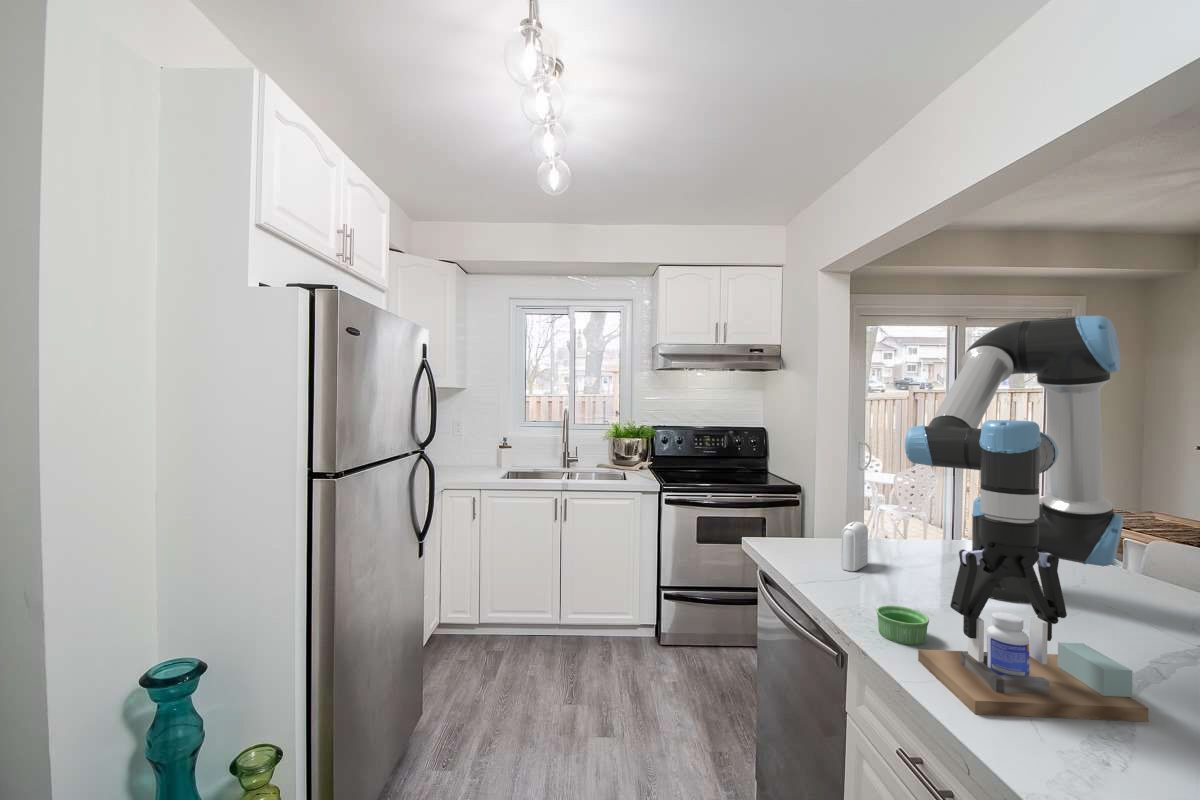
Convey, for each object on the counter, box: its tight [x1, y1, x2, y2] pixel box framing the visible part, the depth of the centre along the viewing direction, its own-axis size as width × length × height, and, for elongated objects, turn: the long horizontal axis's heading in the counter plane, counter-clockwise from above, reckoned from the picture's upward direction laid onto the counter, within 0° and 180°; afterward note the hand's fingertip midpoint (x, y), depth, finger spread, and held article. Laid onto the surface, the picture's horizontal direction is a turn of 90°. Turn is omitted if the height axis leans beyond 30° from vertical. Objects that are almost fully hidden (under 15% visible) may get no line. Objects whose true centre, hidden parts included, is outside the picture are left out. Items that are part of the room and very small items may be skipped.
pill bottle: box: [986, 611, 1030, 676], centre depth 86 cm, size 5×5×10 cm
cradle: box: [917, 649, 1150, 723], centre depth 86 cm, size 24×16×4 cm, turn 86°
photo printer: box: [840, 521, 869, 572], centre depth 147 cm, size 10×4×12 cm, turn 134°
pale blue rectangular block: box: [1057, 642, 1133, 698], centre depth 85 cm, size 4×9×4 cm, turn 176°
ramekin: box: [876, 605, 930, 646], centre depth 105 cm, size 9×9×4 cm
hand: (1006, 658), depth 86 cm, fingers open, 9 cm apart
